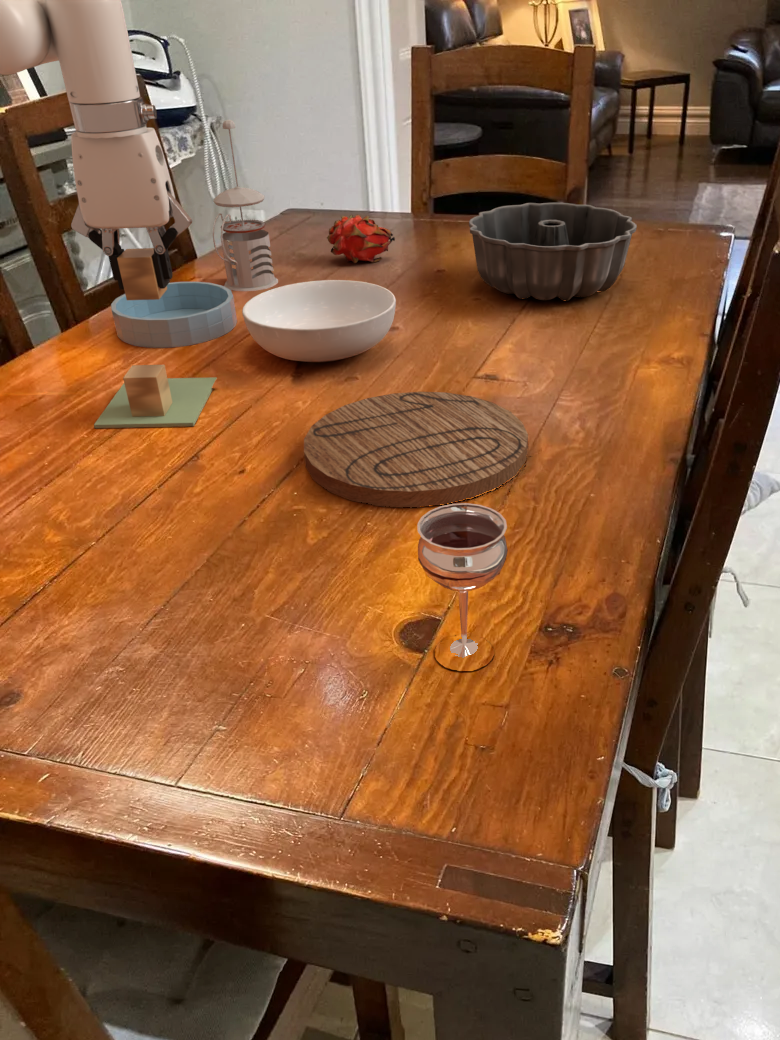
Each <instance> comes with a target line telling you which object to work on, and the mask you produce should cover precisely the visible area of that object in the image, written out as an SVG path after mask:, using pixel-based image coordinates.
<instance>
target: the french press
mask: <svg viewBox="0 0 780 1040" xmlns="http://www.w3.org/2000/svg"><path fill="white" fill-rule="evenodd" d="M222 129H223V130H228V136H229V142H230V148H231V157H232V163H233V170H234V176H235V183H236V186H235V187H232V188H228V189H225V190H224V191H222V192H219V194H218V195H216V196H215V198H214V199H213V200H212V201H213V203H214V204H215V205H216V206H218V207H222V208H239V211H240V219H236V220H232V217H231V214H230V213H228V214H226V215H225V216H224V218H223V213H222V212H220V213H218V214H217V215H216V217H215V218H214V222H213V226H212V242H213V247H214V249H215V252H216V254H217V256H218V257H219V258H220V259H221V260H222V261H223V263H224V269H225V274H226V281H225V282H224V285H223V286H224V287H226V288H228V289H230V290H231V291H235V292H255V291H262V290H267V289H270V288H272V287H275V286H276V285H277V284H278V283H279V279H278V278H277V277H275V274H274V273H273V272H274V266H273V265H272V264H273V258H272V257H271V256H272V251H271V249H270V248H271V242H270V233H269V232H268V231H267V230H264V229H265V227H266V223H265V222H264V221H263V220H260V219H253V218H252V219H250V218H249V219H246V218H245V219H244V218H243V217H244V216H243V211H242V208H243V207H250V206H255V205H258V204H260V203H262V202H264V200H265V195H264V194H263V193H261V192H259V191H258V190H257V189H256V190H255V189H253V188H249V187H242V186H239V182H238V175H237V169H236V162H235V154H234V147H233V140H232V134H231V133H232V132H231V130H233V129H236V124H235V122H234V121H233V120H232V119H226V120H224V121H223V123H222ZM219 217H220V219H221V221H222V225H221V226H220V243H221V250H222V255H221V254H220V252H219V249H218V248H217V244H216V239H215V229H216V223H217V221H218V218H219ZM227 218H229V221H228V220H227ZM229 242H231V244H229ZM230 250H232V251H233V252H231V251H230ZM222 256H223V257H222ZM232 258H233V259H232ZM233 266H235V267H233Z"/></svg>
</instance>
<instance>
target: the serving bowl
mask: <svg viewBox="0 0 780 1040" xmlns="http://www.w3.org/2000/svg"><path fill="white" fill-rule="evenodd" d="M396 306H397V299H396V296H395V295H394V293H393V292H392V291H391V290H389V289H387V288H386V287H384V286H381V285H378V284H376V283H371V282H366V281H361V280H348V279H321V280H311V281H310V280H309V281H302V282H296V283H290V284H285V285H282V286H279V287H274V288H271V289H269V290H265V291H263V292H261V293H259V294H257V295H255V296H253V297H252V298H250V299H249V300H247V302H246V303H245V304H243V307H242V310H241V314H242V318H243V320H244V324H245V326H246V328H247V332H248V333H249V334H250V336H251V337H252V339H253V340H254V342H255V343H256V344H257V345H258V346H260V347H261V348H262V349H263V350H265V351H266V352H268V353H270V354H272V355H274V356H276V357H278V358H282V359H285V360H290V361H295V362H303V363H304V362H305V363H306V362H307V363H328V362H334V361H339V360H345V359H349V358H351V357H355V356H358V355H361V354H363V353H365V352H368V351H369V350H371V349H372V348H374V347H375V346H377V345H378V344H379V343H380V342H382V340H383V339H384V338H385V337H386V336H387V334H388V333H389V331H390V330H391V327H392V325H393V324H394V323H393V322H394V319H395V314H396Z"/></svg>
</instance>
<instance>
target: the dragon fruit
mask: <svg viewBox="0 0 780 1040" xmlns="http://www.w3.org/2000/svg"><path fill="white" fill-rule="evenodd" d="M326 239H327V241H328V242H329V244H331V245H332V247H331V248H330V253H332V254H333V255H334V256H340V255H344V256H345V257H344V258H345V261H346V262H353V264H357V263H358V262H359V261H363V262H364V261H365V262H370V263H377V262H379V261H381V260H383V257H381V256H380V257H376V256H377V255H381V254H382V253H384V252H389V246H390V244H392V242H395V240H396V238H395V236H394V234H393V233H392V232H391V230H390V229H388V228H385V227H381V226H379V225H378V224H376V221H375V220H374V219H371V218H370V216H369V215H365V216H364V217H363V218H362V216H361V215H360V214H355V216H353V214H351V215H348V216H345V215H342V216H340V219H337V220H334V222H333V225H332V226H331V227H330V228H328V235H327V237H326ZM375 257H376V258H375Z"/></svg>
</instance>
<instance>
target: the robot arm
mask: <svg viewBox="0 0 780 1040" xmlns="http://www.w3.org/2000/svg"><path fill="white" fill-rule="evenodd" d="M127 26H128V25H127V22H126V17H125V11H124V7H123V4H122V0H0V75H3V76H6V75H7V76H9V75H15V74H18V73H20V72H24V71H25V70H27V69H33V68H35V67H39V66H42V65H44V64H48V63H53V62H59V66H60V70H61V74H62V79H63V83H64V87H65V91H66V96H67V100H68V103H69V108H70V113H71V117H72V120H73V124H74V129H75V132H73V133H71V136H70V138H71V139H70V141H71V156H72V169H73V177H74V181H75V188H76V194H77V200H78V205H77V207H76V210H75V213H74V215H73V219H72V220H71V224H70V227H71V229H72V230H73V231H75V232H76V233H78V234H79V235H82V236H83V237H85V238H87V239H89V240H90V242H92V243H93V244H94V245H95V246H97V247H98V248H99V249H101V250H102V253H103V254H104V255H105V256H106V257H108V261H109V265H110V270H111V273H112V277H113V278H112V279H113V280H114V281H115V282H117V284H118V288H119V290H120V291H125V290H124V286H123V282H122V277H121V273H120V269H119V264H118V260H117V258H118V257H119V256H120V255H121V254H122V253H123V252H124V251H125V249H124V248H122V246H121V243H120V241H121V240H120V229H146V233H147V234H148V237H149V239H150V242H151V244H152V248H153V249H154V254H153V255H152V260H153V264H154V269H155V274H156V279H157V283H158V287H160V289H164V288H165V287H166V286H167V285H168V284H169V283H171V280H172V279H173V275H174V274H173V267H172V264H171V259H170V253H169V248H170V247H171V245H172V244H173V243H174V241H175V240H176V239H177V237H178V236H179V235H181V234H182V233H184V232H185V231H186V230H187V229H188V228H190V226H191V225H192V224H193V219H192V217H191V216H190V215H189V214H188V213H187V211H186V210H185V209H184V207H182V205H181V204H180V203H179V202H178V200H177V198H176V195H175V192H174V187H173V183H172V179H171V176H170V171H169V169H168V168H169V167H168V165H167V162H166V158H165V154H164V151H163V147H162V145H161V143H160V140H159V138H158V134H157V131H156V130H155V128H154V127H147V124H148V121H150V120H151V119H154V120H155V119H157V117H158V115H157V114H158V113H157V109H156V105H154V104H148V103H145V101H144V99H143V97H141V93H140V88H139V83H138V77H137V72H136V68H135V62H134V58H133V57H134V56H133V52H132V47H131V42H130V37H129V33H128V27H127ZM171 218H173V220H174V223H173V224H171V225H170V226H169V227H168V228H167V230H166V228H165V225H166V224H168V223H169V221H170V219H171Z"/></svg>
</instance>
